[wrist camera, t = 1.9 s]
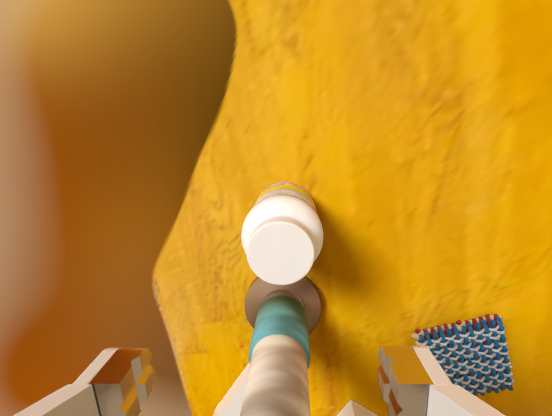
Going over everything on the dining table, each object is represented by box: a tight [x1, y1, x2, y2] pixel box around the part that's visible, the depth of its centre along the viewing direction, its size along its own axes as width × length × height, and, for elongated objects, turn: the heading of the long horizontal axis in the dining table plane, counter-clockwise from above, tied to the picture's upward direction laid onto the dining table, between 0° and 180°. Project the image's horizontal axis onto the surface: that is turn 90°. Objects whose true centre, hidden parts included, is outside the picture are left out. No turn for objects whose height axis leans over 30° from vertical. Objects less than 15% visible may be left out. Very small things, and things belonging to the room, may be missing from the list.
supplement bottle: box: [241, 182, 323, 285], centre depth 25 cm, size 7×7×13 cm
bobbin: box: [240, 276, 321, 416], centre depth 25 cm, size 9×9×20 cm
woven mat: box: [412, 314, 515, 396], centre depth 34 cm, size 10×11×2 cm
